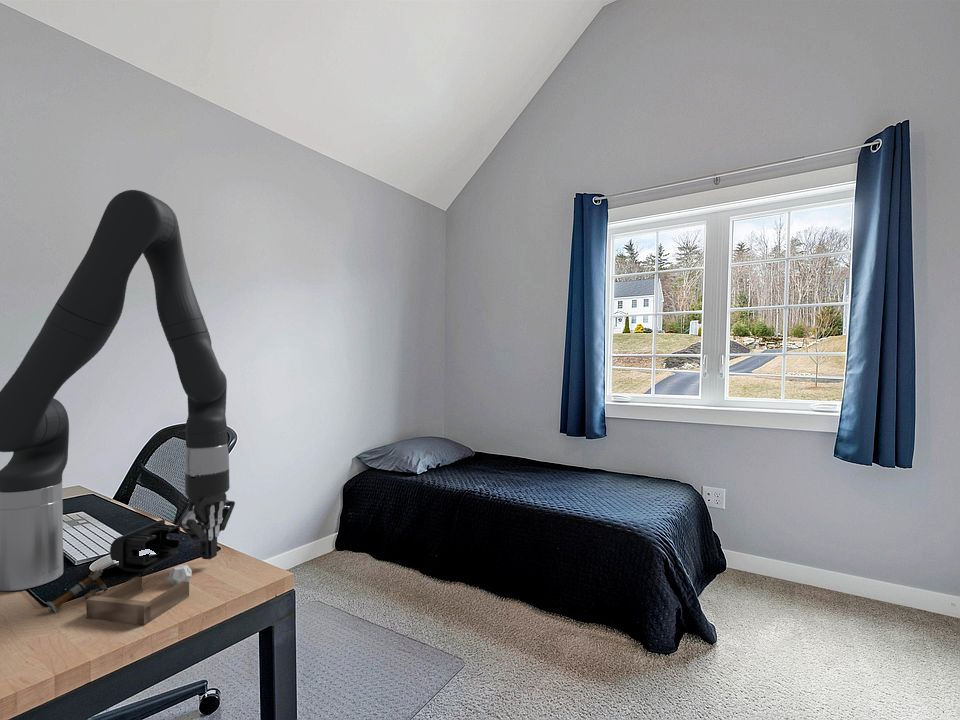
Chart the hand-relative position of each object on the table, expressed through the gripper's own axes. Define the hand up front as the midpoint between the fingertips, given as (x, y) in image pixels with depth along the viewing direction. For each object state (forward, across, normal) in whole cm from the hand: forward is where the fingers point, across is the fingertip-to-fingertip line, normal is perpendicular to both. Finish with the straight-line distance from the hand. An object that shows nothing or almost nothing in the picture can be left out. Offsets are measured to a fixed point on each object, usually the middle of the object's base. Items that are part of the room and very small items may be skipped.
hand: (209, 557), depth 98 cm
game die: (+2, +7, 0) cm, 7 cm away
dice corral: (+2, +15, 0) cm, 15 cm away
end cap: (+2, 0, -14) cm, 14 cm away
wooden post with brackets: (+2, +16, -12) cm, 20 cm away
